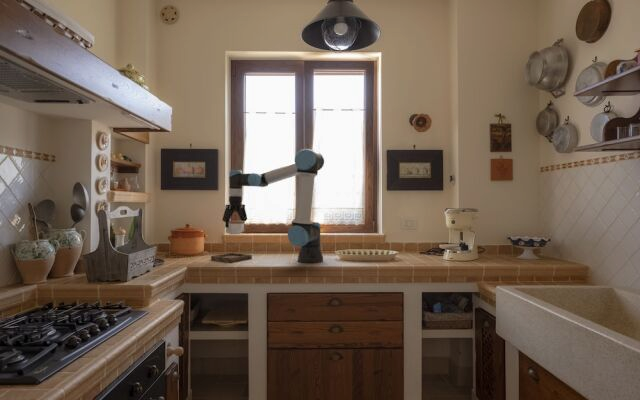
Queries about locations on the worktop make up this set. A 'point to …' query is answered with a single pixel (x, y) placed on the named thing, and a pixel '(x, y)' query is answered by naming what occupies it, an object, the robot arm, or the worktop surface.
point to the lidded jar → (236, 226)
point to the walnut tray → (231, 257)
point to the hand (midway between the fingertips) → (235, 232)
